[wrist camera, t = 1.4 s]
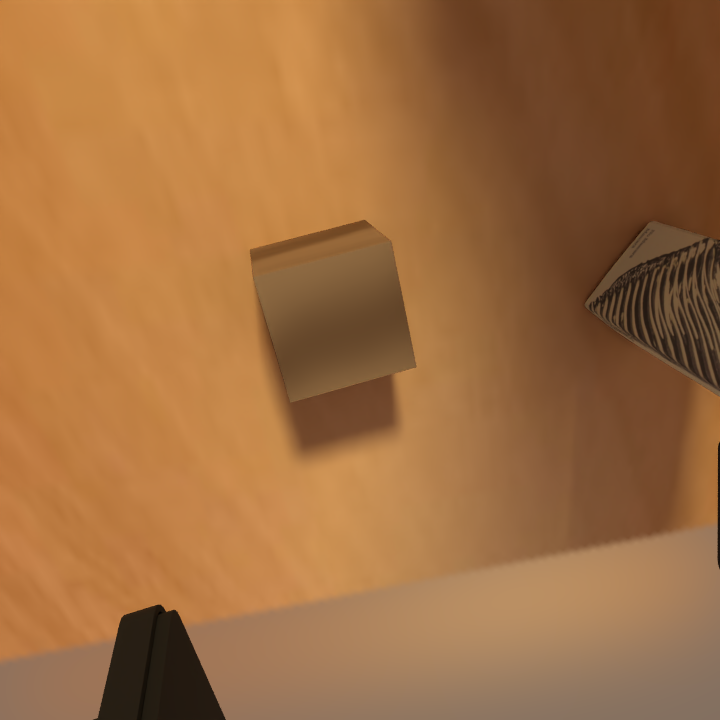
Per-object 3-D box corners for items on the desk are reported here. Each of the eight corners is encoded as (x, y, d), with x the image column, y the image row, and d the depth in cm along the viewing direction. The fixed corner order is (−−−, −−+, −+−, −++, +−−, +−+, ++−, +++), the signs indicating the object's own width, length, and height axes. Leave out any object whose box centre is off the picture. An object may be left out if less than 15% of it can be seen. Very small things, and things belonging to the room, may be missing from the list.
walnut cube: (249, 249, 26) (252, 277, 22) (364, 219, 27) (391, 241, 22) (281, 356, 28) (290, 402, 24) (387, 327, 29) (416, 367, 24)
